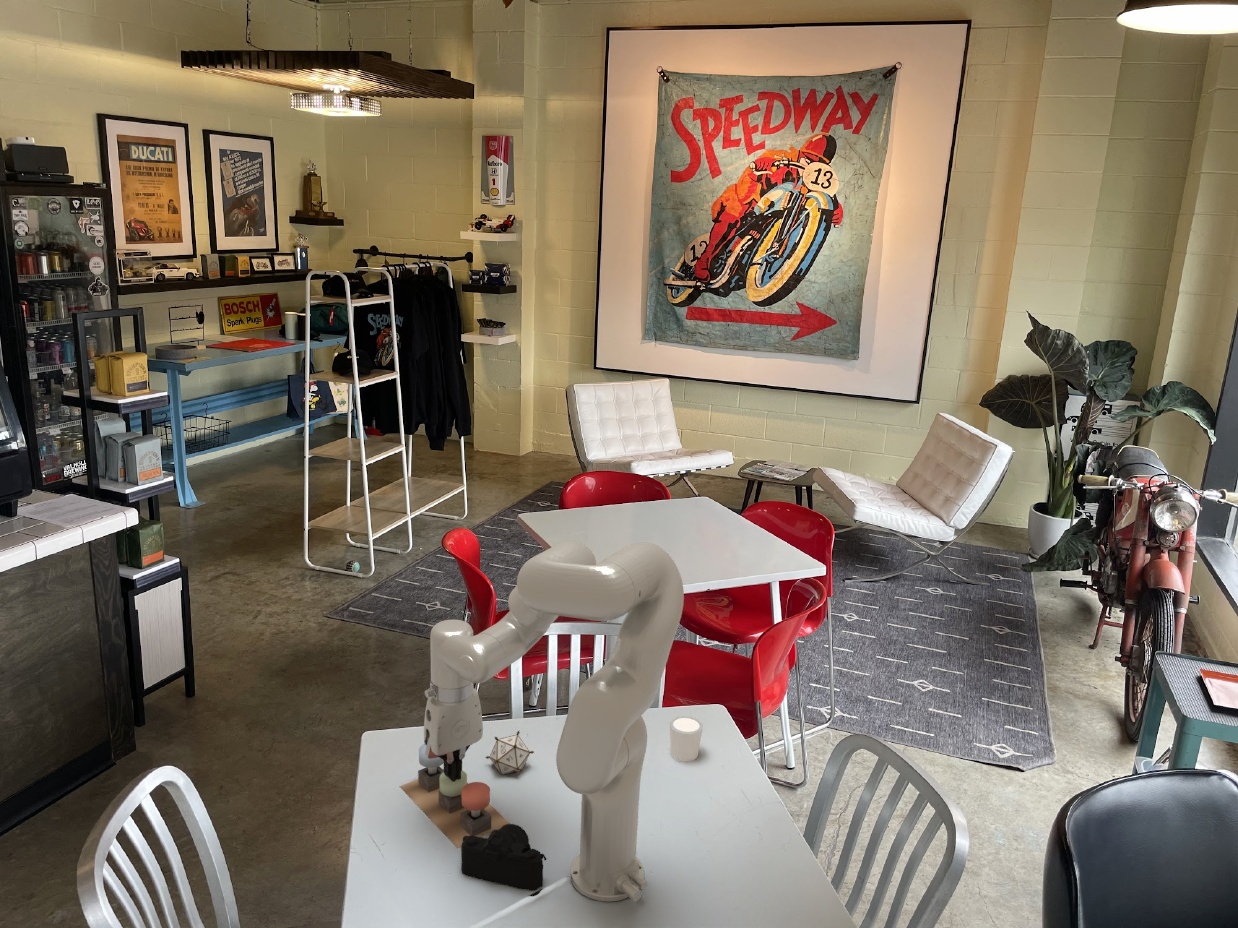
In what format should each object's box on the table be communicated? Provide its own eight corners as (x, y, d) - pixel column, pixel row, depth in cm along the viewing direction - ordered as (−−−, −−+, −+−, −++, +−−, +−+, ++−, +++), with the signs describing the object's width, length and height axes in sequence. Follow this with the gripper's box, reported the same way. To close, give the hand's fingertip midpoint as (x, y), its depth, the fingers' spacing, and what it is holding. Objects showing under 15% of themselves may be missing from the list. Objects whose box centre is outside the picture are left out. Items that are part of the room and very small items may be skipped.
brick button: (495, 816, 167) (495, 791, 166) (470, 826, 164) (470, 802, 162) (480, 802, 171) (480, 778, 169) (456, 812, 167) (456, 788, 166)
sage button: (472, 801, 173) (472, 778, 172) (448, 811, 170) (448, 788, 169) (458, 788, 177) (458, 765, 176) (434, 798, 174) (434, 774, 172)
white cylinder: (664, 759, 193) (666, 729, 191) (672, 742, 199) (674, 712, 197) (696, 766, 191) (698, 736, 189) (703, 748, 197) (705, 719, 195)
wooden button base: (510, 829, 169) (510, 811, 168) (457, 853, 163) (457, 834, 162) (450, 771, 186) (449, 754, 185) (399, 791, 179) (399, 774, 178)
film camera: (557, 863, 161) (558, 819, 159) (537, 902, 152) (538, 855, 150) (477, 844, 165) (477, 800, 163) (453, 880, 156) (452, 835, 154)
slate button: (450, 773, 179) (450, 750, 177) (427, 782, 176) (426, 759, 174) (437, 761, 182) (437, 738, 181) (414, 770, 179) (414, 747, 178)
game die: (516, 792, 186) (529, 773, 179) (477, 776, 185) (488, 757, 178) (529, 751, 192) (542, 732, 185) (491, 736, 192) (502, 716, 184)
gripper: (424, 709, 160) (426, 801, 165) (498, 684, 169) (498, 772, 174) (404, 691, 165) (406, 781, 170) (477, 668, 175) (477, 753, 180)
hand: (452, 776), depth 172 cm, fingers closed
